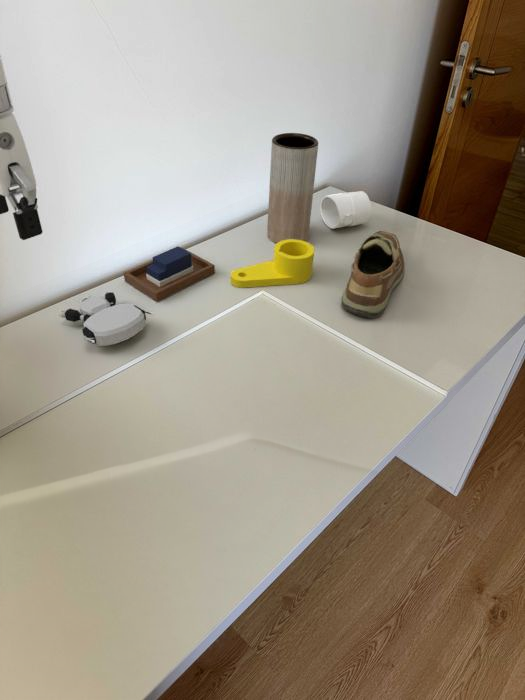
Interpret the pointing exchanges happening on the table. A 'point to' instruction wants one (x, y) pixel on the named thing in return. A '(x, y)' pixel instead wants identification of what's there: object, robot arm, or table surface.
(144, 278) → the tray
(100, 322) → the robot toy
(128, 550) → the table surface
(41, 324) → the table surface
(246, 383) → the table surface
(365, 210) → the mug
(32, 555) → the table surface
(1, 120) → the robot arm
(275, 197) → the planter
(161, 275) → the navy stepped block
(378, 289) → the boat shoe
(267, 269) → the crank
